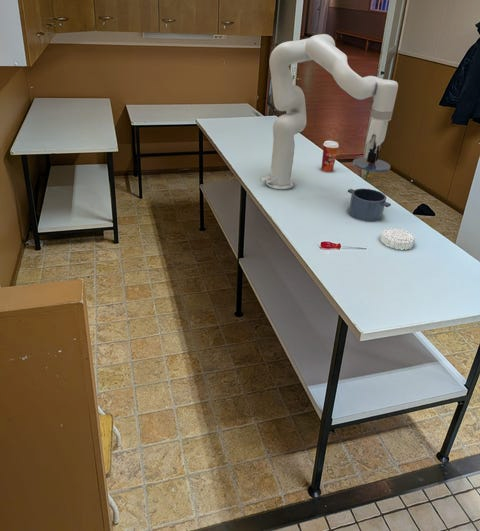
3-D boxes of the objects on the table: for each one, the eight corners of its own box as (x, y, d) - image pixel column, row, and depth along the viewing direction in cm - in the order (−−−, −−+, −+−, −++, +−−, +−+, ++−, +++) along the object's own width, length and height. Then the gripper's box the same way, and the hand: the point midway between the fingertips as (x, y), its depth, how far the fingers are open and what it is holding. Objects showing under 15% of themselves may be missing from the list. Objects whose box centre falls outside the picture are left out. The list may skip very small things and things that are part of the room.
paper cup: (325, 173, 244) (329, 145, 237) (316, 168, 250) (320, 140, 242) (338, 171, 247) (342, 144, 240) (328, 166, 253) (333, 139, 246)
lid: (377, 175, 190) (380, 160, 187) (345, 165, 199) (347, 150, 196) (396, 168, 199) (400, 153, 196) (365, 158, 208) (368, 144, 205)
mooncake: (408, 253, 178) (410, 244, 176) (375, 243, 183) (377, 234, 181) (416, 241, 187) (419, 232, 185) (385, 231, 192) (388, 223, 190)
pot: (375, 226, 195) (380, 207, 191) (336, 210, 206) (340, 191, 202) (393, 217, 204) (398, 198, 200) (355, 202, 215) (358, 184, 211)
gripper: (378, 109, 196) (368, 154, 206) (365, 116, 184) (356, 164, 193) (396, 112, 193) (386, 158, 203) (385, 120, 181) (375, 168, 190)
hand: (372, 160), depth 198 cm, fingers closed on lid, 2 cm apart
